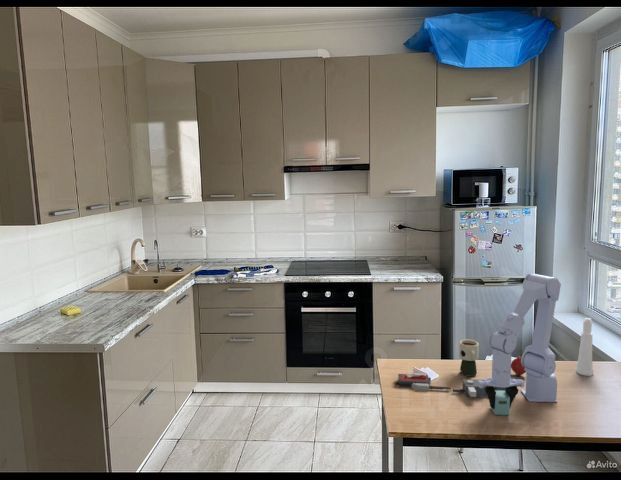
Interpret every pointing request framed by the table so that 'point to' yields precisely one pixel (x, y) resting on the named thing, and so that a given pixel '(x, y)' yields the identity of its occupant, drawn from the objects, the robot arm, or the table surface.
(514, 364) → the onion
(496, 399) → the charger
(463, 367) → the character mug
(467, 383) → the power strip
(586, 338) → the cosmetic bottle
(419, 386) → the walkie-talkie
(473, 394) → the block
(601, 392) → the table surface
